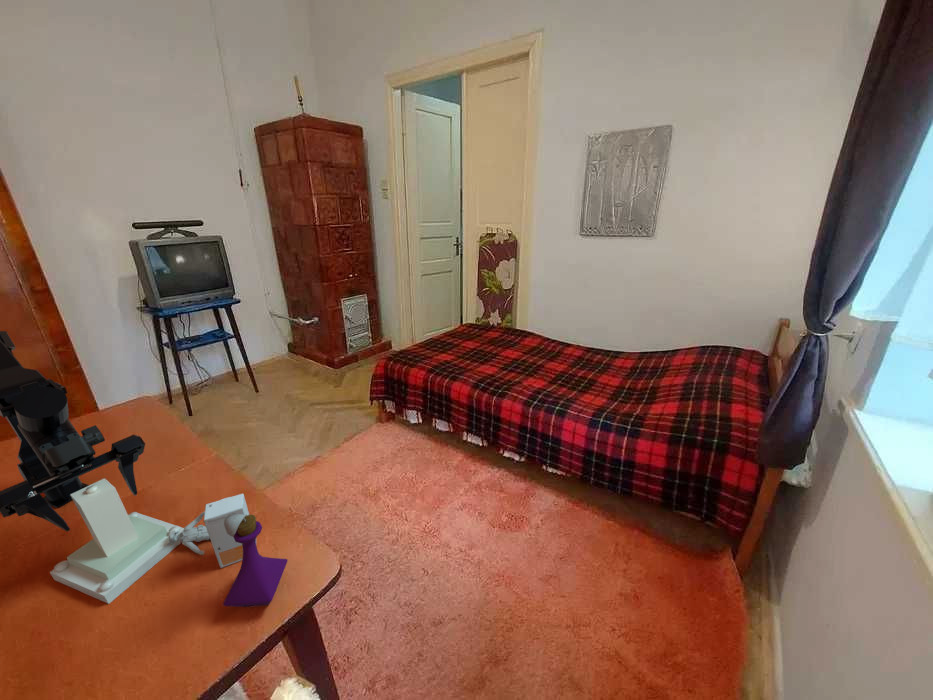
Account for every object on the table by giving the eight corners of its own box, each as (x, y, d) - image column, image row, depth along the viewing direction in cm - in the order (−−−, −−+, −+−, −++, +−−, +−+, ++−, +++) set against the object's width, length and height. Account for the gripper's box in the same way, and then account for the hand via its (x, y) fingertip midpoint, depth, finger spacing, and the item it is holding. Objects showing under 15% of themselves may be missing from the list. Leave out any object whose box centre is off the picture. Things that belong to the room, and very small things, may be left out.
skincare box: (220, 569, 68) (201, 520, 64) (221, 551, 72) (204, 503, 67) (257, 555, 71) (242, 507, 66) (257, 538, 74) (243, 492, 70)
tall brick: (97, 545, 68) (68, 491, 63) (128, 527, 72) (103, 475, 67) (107, 556, 66) (78, 502, 61) (138, 537, 70) (113, 484, 65)
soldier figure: (242, 548, 73) (164, 561, 67) (239, 548, 77) (165, 561, 70) (245, 505, 76) (171, 513, 70) (242, 508, 80) (171, 516, 73)
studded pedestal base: (54, 579, 66) (44, 564, 65) (138, 519, 79) (132, 504, 77) (108, 603, 63) (99, 587, 61) (188, 536, 75) (182, 521, 73)
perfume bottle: (248, 575, 67) (222, 498, 60) (291, 571, 68) (270, 495, 61) (227, 618, 60) (195, 537, 53) (275, 614, 61) (250, 533, 54)
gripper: (-38, 453, 54) (21, 541, 53) (122, 396, 69) (170, 465, 68) (-24, 476, 61) (29, 556, 60) (119, 420, 75) (163, 483, 75)
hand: (104, 511), depth 65 cm, fingers open, 9 cm apart
